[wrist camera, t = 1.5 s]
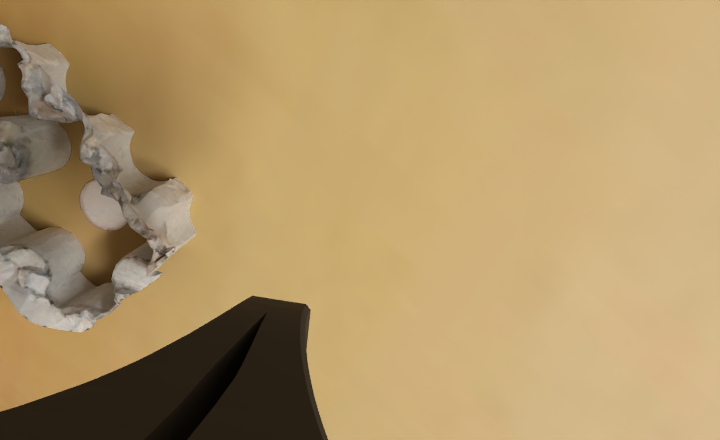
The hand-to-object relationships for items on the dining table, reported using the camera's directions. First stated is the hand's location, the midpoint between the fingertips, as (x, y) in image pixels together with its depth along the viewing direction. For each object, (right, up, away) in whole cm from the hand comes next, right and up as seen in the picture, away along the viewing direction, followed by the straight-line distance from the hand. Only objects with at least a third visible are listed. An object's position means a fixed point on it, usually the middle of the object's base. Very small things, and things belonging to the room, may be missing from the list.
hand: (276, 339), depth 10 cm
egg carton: (-10, +5, +9) cm, 14 cm away
